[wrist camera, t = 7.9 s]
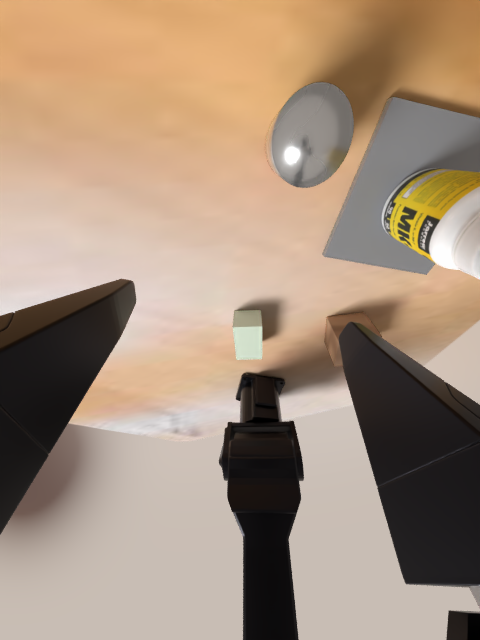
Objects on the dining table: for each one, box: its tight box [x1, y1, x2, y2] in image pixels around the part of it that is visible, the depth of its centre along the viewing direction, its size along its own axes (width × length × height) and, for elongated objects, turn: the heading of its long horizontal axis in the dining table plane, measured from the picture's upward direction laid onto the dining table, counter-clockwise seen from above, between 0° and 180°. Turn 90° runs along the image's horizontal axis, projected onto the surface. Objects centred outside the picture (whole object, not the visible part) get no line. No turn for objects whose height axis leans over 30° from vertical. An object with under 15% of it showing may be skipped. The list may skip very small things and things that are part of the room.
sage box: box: [233, 310, 262, 360], centre depth 24 cm, size 5×3×3 cm, turn 4°
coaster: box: [323, 97, 480, 275], centre depth 16 cm, size 10×10×1 cm
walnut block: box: [325, 312, 382, 367], centre depth 23 cm, size 4×4×4 cm
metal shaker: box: [265, 82, 354, 188], centre depth 13 cm, size 4×4×5 cm
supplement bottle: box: [382, 168, 480, 279], centre depth 13 cm, size 5×5×8 cm
